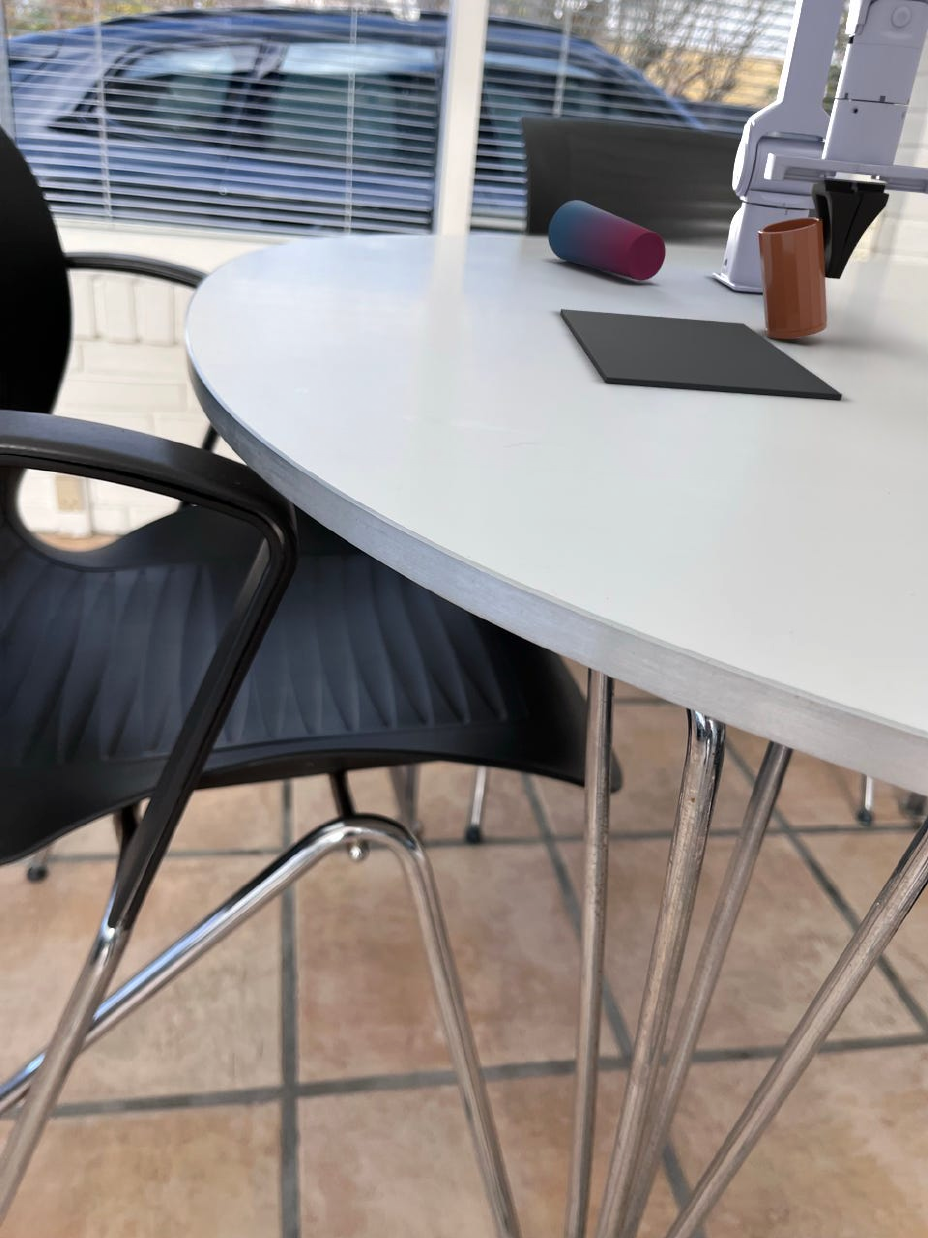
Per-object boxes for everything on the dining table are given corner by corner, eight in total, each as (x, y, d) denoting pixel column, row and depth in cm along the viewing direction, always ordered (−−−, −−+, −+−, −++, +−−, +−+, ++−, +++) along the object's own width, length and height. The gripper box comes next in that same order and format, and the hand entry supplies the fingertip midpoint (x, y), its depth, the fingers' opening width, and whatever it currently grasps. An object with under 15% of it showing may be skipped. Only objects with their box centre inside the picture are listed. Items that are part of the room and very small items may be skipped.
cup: (674, 278, 112) (599, 251, 124) (671, 215, 108) (594, 193, 120) (622, 296, 111) (551, 267, 122) (617, 232, 107) (544, 208, 118)
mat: (560, 313, 92) (560, 308, 92) (742, 327, 94) (743, 323, 94) (606, 382, 71) (606, 376, 71) (841, 399, 73) (842, 394, 72)
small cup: (758, 330, 94) (750, 228, 89) (815, 317, 93) (810, 214, 89) (777, 343, 89) (769, 236, 85) (836, 329, 89) (831, 221, 85)
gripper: (801, 94, 79) (763, 277, 85) (980, 112, 80) (929, 291, 86) (772, 93, 85) (738, 264, 91) (939, 110, 86) (894, 277, 92)
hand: (829, 276), depth 89 cm, fingers closed, pressing on small cup
